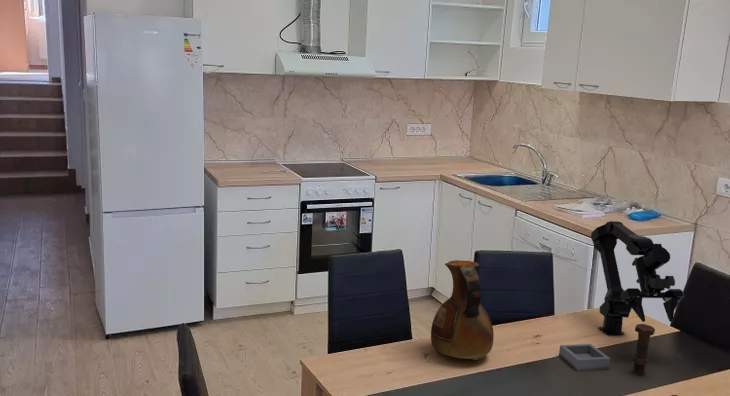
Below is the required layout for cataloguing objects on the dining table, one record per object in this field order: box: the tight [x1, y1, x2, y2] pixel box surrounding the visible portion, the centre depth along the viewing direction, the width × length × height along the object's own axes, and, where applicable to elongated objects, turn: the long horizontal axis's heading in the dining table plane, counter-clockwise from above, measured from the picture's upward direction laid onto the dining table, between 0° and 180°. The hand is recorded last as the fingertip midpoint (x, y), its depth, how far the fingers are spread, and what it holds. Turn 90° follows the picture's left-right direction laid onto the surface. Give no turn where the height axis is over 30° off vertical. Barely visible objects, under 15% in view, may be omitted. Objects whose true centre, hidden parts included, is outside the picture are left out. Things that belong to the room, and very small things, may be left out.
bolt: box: [631, 323, 656, 376], centre depth 199 cm, size 6×5×15 cm
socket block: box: [558, 343, 611, 372], centre depth 206 cm, size 11×11×4 cm
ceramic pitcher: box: [430, 259, 495, 361], centre depth 204 cm, size 20×20×30 cm
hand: (657, 321), depth 205 cm, fingers open, 9 cm apart
